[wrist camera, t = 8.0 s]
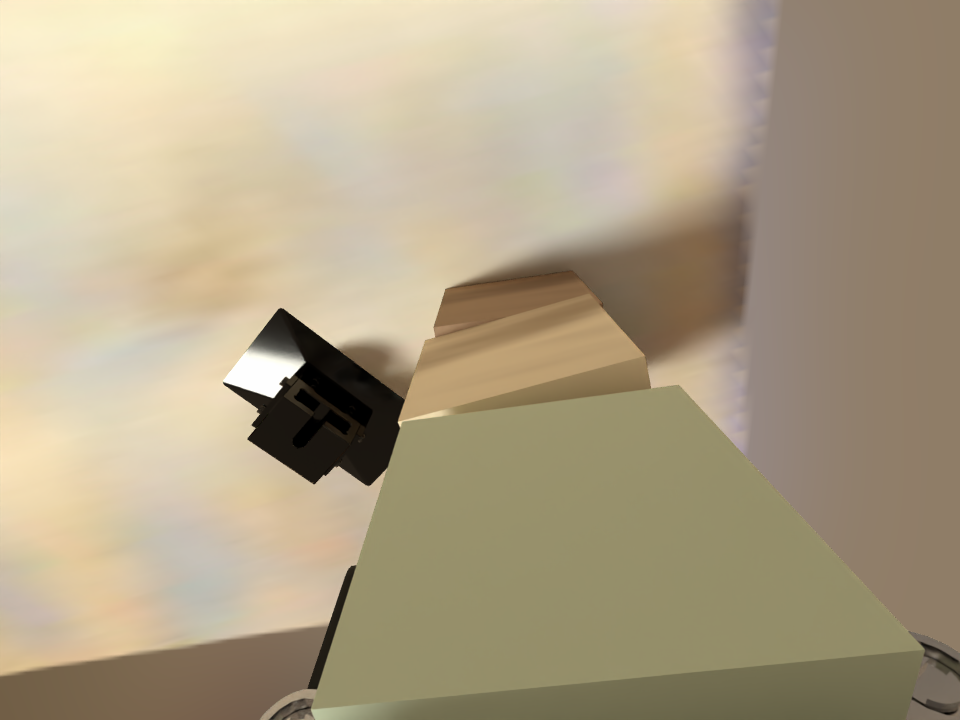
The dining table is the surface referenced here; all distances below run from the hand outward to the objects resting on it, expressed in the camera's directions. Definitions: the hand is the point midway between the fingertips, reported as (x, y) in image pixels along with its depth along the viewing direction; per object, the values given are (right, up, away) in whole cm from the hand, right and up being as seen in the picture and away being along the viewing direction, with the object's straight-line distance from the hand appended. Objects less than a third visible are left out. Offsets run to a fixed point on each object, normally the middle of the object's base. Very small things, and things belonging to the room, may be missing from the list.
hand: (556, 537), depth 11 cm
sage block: (0, 0, +1) cm, 1 cm away
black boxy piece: (-10, +2, +15) cm, 18 cm away
